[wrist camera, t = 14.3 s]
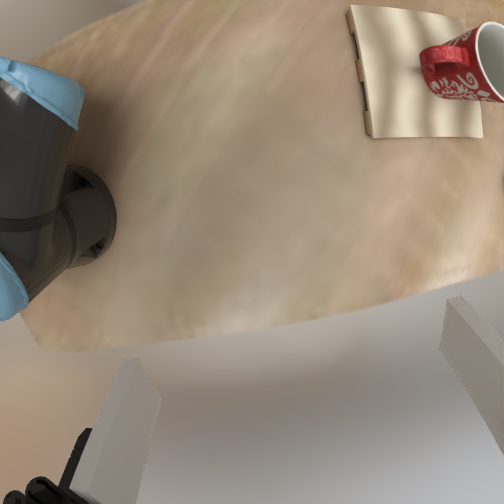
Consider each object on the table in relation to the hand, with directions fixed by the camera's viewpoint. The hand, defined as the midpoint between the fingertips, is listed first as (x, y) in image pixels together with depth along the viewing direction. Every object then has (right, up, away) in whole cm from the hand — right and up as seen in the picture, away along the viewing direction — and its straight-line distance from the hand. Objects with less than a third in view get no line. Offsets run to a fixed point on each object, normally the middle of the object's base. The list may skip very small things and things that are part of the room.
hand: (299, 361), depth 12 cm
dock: (+20, +29, +22) cm, 41 cm away
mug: (+21, +28, +19) cm, 40 cm away
